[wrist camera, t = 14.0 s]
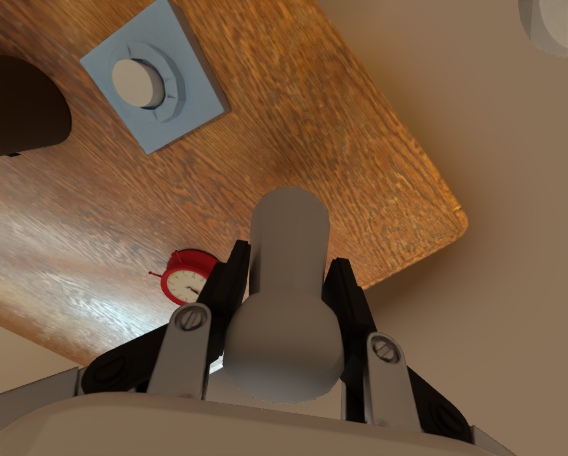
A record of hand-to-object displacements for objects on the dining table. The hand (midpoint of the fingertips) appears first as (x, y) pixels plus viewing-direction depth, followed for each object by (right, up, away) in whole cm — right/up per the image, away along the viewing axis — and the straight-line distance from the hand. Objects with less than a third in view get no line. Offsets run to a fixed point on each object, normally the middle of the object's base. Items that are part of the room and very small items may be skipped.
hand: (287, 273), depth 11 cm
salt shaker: (0, +4, +7) cm, 8 cm away
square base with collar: (-13, +18, +14) cm, 27 cm away
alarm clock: (-14, -7, +28) cm, 33 cm away
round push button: (-14, +16, +10) cm, 23 cm away
